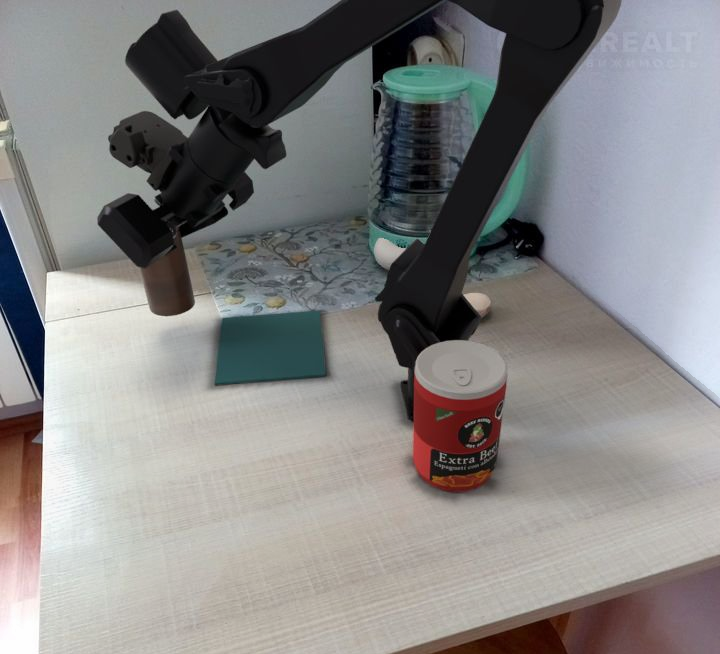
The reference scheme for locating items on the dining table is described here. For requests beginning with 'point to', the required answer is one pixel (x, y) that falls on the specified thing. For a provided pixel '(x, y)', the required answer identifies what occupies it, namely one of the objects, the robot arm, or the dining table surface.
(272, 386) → the dining table surface
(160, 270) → the pepper mill
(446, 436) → the canned food
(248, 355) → the napkin
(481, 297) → the cream clam shell
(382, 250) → the donut
